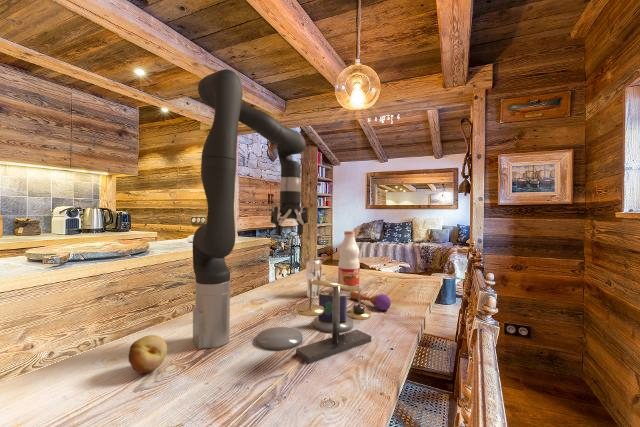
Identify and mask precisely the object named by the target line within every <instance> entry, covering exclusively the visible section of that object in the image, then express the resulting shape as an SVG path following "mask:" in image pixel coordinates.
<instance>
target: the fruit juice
mask: <svg viewBox="0 0 640 427" xmlns="http://www.w3.org/2000/svg"><path fill="white" fill-rule="evenodd" d="M343 233H344V234H343V235H344V238H343V242H342V243H341V245H340V247H339V248H338V255H339V260H338V264H337V265H338V266H337V267H338V272H337V273H338V274H337V275H338V277H337V284H342V285H348V286H353V287H359V288H360V268H361V266H360V260H359V259H360V258H359V256H360V254H361V252H360V248H359V246H358V245H357V244H358V243H357V242H356V238H355V236H356V232H355V231H354V230H353V231H352V230H345V231H344V232H343ZM351 292H352V291H351V290H345V289H340V294H346V295H347V298H348V297H350V293H351ZM355 292H357V291H355ZM357 293H358V292H357ZM350 298H351V297H350Z"/></svg>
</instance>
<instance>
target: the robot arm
mask: <svg viewBox="0 0 640 427" xmlns="http://www.w3.org/2000/svg"><path fill="white" fill-rule="evenodd" d="M197 91H198V96H199V97H200V99H201V101H202V102H203V103H204V105H205V106H208V107H209V108H211V109H213V110H214V115H213V116H214V117H213V122H212V124H211V128H210V130H209V133H208V134H207V137H206V139H205V142H204V144H203V147H202V150H201V160H200V161H201V165H200V176H201V177H200V178H201V183H202V187H203V191H204V195H205V198H206V202H207V204H206V205H207V215H206V223H204V224H202V225H200V226H198V228H197V229H196V230H195V231H194V234H193V238H192V268H193V272H194V276H195V277H194V278H195V298H194V299H195V304H194V305H195V307H193V308H192V343H193V344H194V345H195V347H197V349H199V350H200V349H201V350H202V349H214V348H218V347H222V346H224V345H226V344H227V343H229V341H230V332H231V330H230V329H231V326H230V322H231V320H230V319H231V318H230V316H231V314H230V312H231V311H230V310H231V270H230V268H229V267H228V265H227V263H226V257H228V256H229V255H230V254H231V253H232V251H233V249H234V247H235V245H236V225H235V195H236V194H235V193H236V192H235V188H236V172H237V148H238V147H237V146H238V145H237V144H238V134H239V133H238V131H239V123H240V124H243V125H245V127H248V128H249V129H251V130H253V131H255V133H257V134H258V135H260V136H261V137H263V138H264V139H266V140H268V142H270V143H272V144H276V150H277V151H276V152H277V155H278V159H279V163H280V182H279V206H274V205H273V206H271V209H270V210H271V213H270V223H271V224H274V225H275V234H276V236H277V237H282V235H283V234H282V232H283V223H284V222H285V220H286V219H287V220H290V219H291V220H295V221H296V223H297V224H296V225H297V226H296V235H297V236H302V235H303V234H304V225H305V224H308V223H309V222H308V221H309V215H308V212H309V211H308V210H309V209H308V207H307V206H302V207H301V201H302V200H301V199H302V197H301V196H302V183H301V182H302V181H301V169H302V168H301V164H300V162H299V161H296V160H294V159H293V155H298V154H302V153H303V152H304V151H305V149H306V147H307V144H306V143H307V142H306V140H305V138H304V136H303V135H302V134H301V133H300V132H298V131H296V130H294V129H292V128H290V127H287V126H285V125H283V124H282V123H281V122H280V121H278V120H277V119H276V118H274V117H273V116H272V115H271V114H269V113H267V112H265V111H263V110H260V109H258V108H256V107H253V106H250V105H248V104H246V103H244V102H243V85H242V82H241V79H240V77H239V76H238V74H237V73H236V72H235V71H233V70H231V69H221V70H218V71H216V72H212V73H210V74H208V75H206V76H204V77H202V78H201V80H199V82H198V85H197ZM279 213H280V214H279ZM300 213H301V214H300Z"/></svg>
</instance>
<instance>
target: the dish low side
mask: <svg viewBox="0 0 640 427" xmlns="http://www.w3.org/2000/svg"><path fill="white" fill-rule="evenodd" d="M312 322H313V324H312V325H313V328H314V329H316V330H318V331H320V332H324V333H328V334H329V333H330V334H332V323H328V322H320V321H319V316H315V318H313V320H312ZM353 327H354V321H353V319H351V318H349V317H348V316H347V321H346V322H345V323H340V328H339V334H341V333H347V332H350V331H352V329H353Z"/></svg>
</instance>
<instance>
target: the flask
mask: <svg viewBox="0 0 640 427" xmlns="http://www.w3.org/2000/svg"><path fill="white" fill-rule="evenodd" d="M318 305H320V306H322V307H324V313H323V314H322V315H319V321H320V322H328V323H332V312H333V288H331V290H330V292H329V291H327V292H326V291H324V292H320V294H319V298H318ZM347 307H348V297H347V295H346V294H340V323H345V322H346V321H347V317H348V316H347V311H348V308H347Z"/></svg>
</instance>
